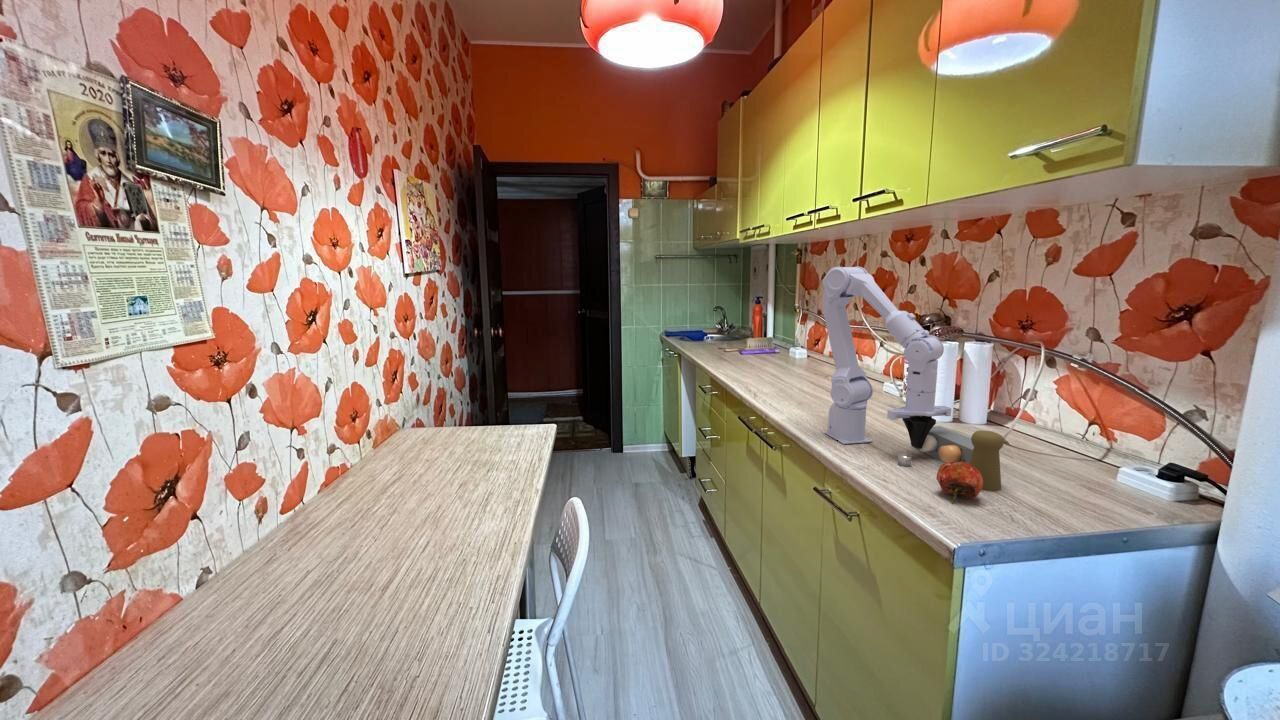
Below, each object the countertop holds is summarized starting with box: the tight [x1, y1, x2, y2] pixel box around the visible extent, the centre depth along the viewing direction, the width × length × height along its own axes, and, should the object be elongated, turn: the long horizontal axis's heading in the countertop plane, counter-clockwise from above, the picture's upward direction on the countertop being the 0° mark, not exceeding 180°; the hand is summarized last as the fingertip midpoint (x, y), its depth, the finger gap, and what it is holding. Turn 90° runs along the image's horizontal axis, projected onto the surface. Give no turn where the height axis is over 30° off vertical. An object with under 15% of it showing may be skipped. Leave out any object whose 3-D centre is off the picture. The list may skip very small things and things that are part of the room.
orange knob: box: [939, 445, 962, 463], centre depth 107 cm, size 4×10×4 cm, turn 98°
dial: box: [897, 453, 913, 468], centre depth 109 cm, size 3×3×2 cm
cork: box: [970, 429, 1005, 492], centre depth 97 cm, size 6×6×11 cm
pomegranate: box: [936, 460, 983, 505], centre depth 93 cm, size 7×7×10 cm
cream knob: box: [918, 435, 938, 453], centre depth 114 cm, size 4×10×4 cm, turn 98°
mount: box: [917, 425, 974, 464], centre depth 111 cm, size 16×6×6 cm, turn 9°
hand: (916, 447), depth 113 cm, fingers closed
